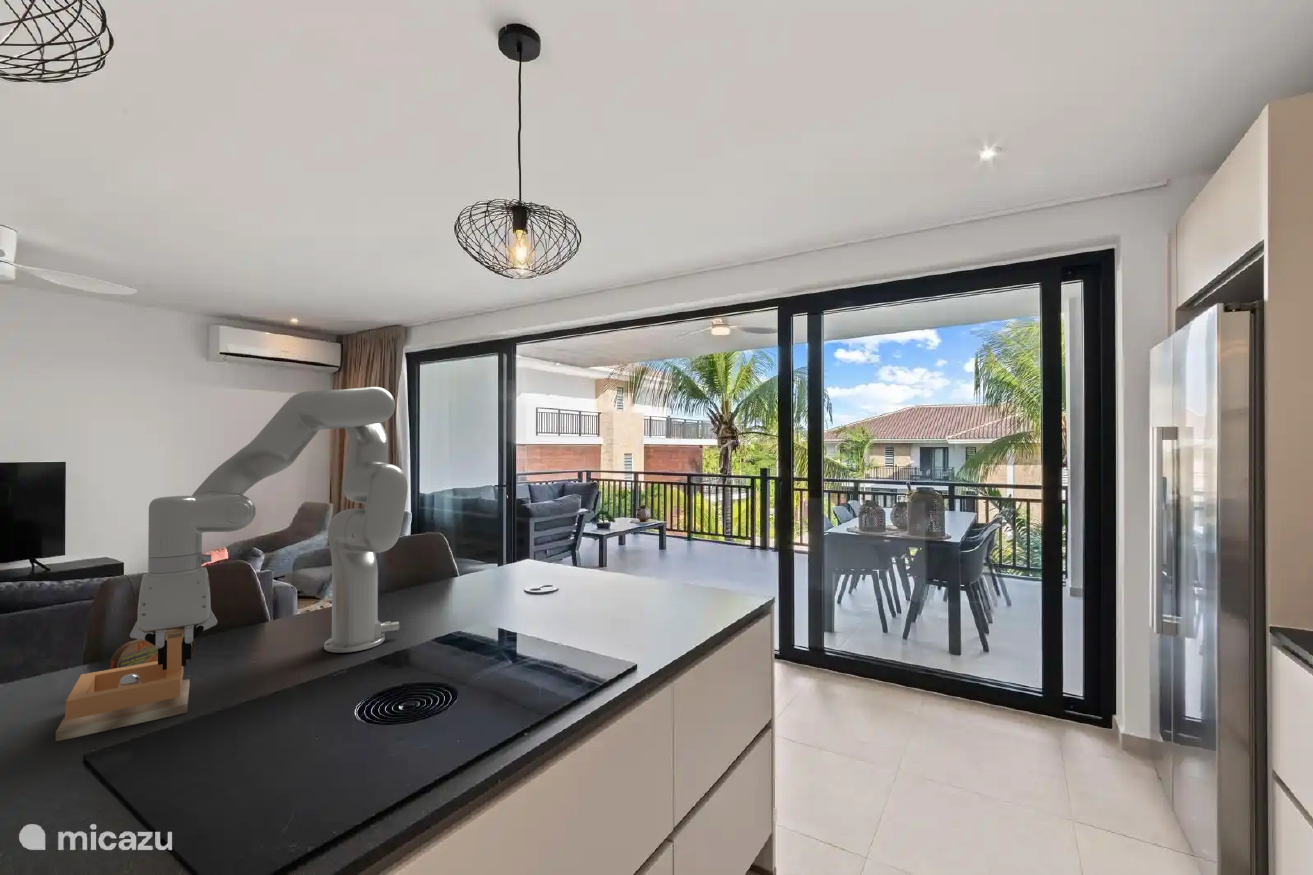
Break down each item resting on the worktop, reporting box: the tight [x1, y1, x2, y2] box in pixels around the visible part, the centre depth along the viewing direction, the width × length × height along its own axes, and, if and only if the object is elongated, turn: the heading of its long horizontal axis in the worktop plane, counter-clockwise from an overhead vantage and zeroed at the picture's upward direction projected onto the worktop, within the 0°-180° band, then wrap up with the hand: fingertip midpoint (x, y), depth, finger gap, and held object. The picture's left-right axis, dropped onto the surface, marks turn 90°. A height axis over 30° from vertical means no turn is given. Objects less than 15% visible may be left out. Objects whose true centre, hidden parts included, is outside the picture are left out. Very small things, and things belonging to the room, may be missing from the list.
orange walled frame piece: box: [64, 632, 184, 721], centre depth 101 cm, size 14×14×9 cm
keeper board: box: [55, 678, 191, 742], centre depth 101 cm, size 16×14×2 cm
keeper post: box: [118, 673, 141, 688], centre depth 101 cm, size 3×3×5 cm
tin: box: [108, 628, 196, 670], centre depth 117 cm, size 15×3×8 cm, turn 168°
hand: (174, 665), depth 105 cm, fingers closed on orange walled frame piece
